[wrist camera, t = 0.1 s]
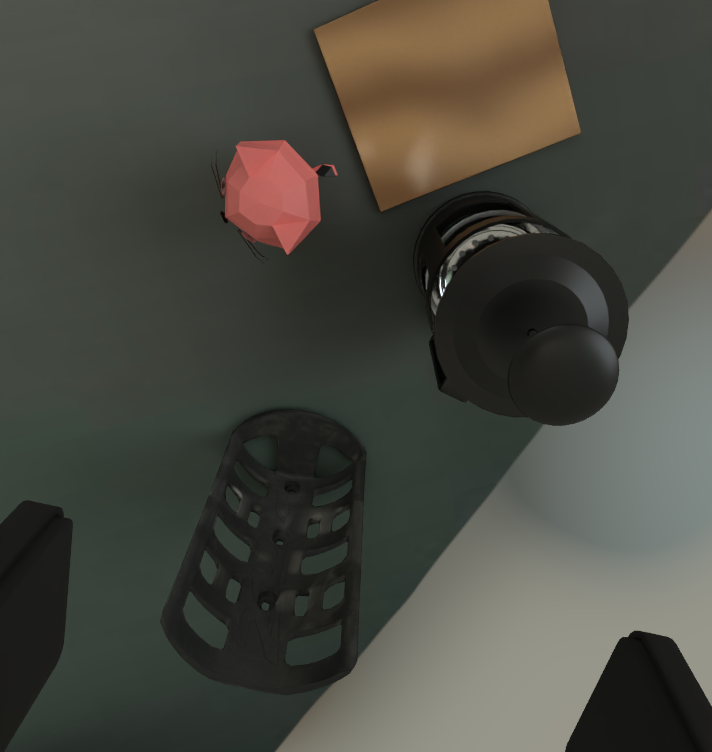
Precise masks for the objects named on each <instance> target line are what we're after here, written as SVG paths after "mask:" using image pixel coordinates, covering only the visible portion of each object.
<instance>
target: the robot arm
mask: <svg viewBox="0 0 712 752" xmlns="http://www.w3.org/2000/svg"><path fill="white" fill-rule="evenodd" d="M72 529H73V522H72V520H71V519H68V518H64V513H63V510H62V508H60V507H57V506H52V505H47V504H42V503H38V502H33V501H28V500H26V501H23V502H22V503H21V504H19V505H18V506H17V507H16V509H15V510H14V511H13V512H12V513H11V514H10V515H9V516H8V517H7V518H6V519H5V520H4V521H3V522H2V523H1V524H0V752H4V751H5V749H6V747H7V746H8V744H9V743H10V741H11V739H12V738H13V736H14V734H15V733H16V731H17V729H18V728H19V726H20V724H21V723H22V721H23V719H24V718H25V716H26V714H27V713H28V711H29V709H30V708H31V706H32V704H33V703H34V701H35V699H36V698H37V696H38V694H39V693H40V691H41V689H42V688H43V686H44V684H45V683H46V681H47V680H48V678H49V676H50V675H51V673H52V671H53V670H54V668H55V666H56V664H57V662H58V660H59V658H60V655H61V652H62V649H63V644H64V634H65V621H66V608H67V595H68V582H69V569H70V555H71V542H72ZM565 752H712V706H711V705H710V703H709V701H708V699H707V698H706V696H705V694H704V692H703V690H702V689H701V687H700V685H699V683H698V682H697V680H696V678H695V677H694V675H693V673H692V671H691V669H690V668H689V666H688V664H687V662H686V661H685V659H684V657H683V655H682V653H681V652H680V650H679V648H678V646H677V645H676V643H675V642H674V641H673V640H672V639H671V638H669V637H666V636H661V635H656V634H652V633H646V632H642V631H634V632H632V633H630V635H629V636H628V637H622V638H621V639H620V640H619V642H618V643H617V645H616V647H615V649H614V651H613V653H612V655H611V657H610V659H609V661H608V663H607V665H606V667H605V669H604V671H603V673H602V675H601V677H600V679H599V681H598V683H597V685H596V687H595V689H594V691H593V693H592V695H591V697H590V699H589V701H588V703H587V705H586V707H585V709H584V711H583V713H582V715H581V717H580V719H579V721H578V723H577V725H576V728H575V729H574V731H573V733H572V735H571V737H570V740H569V742H568V743H567V746H566V750H565Z"/></svg>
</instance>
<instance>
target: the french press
mask: <svg viewBox="0 0 712 752" xmlns="http://www.w3.org/2000/svg"><path fill="white" fill-rule="evenodd" d="M479 211H486V212H482V213H477V214H475V215H472V216H470V217H468V218H466V219H463V220H462V221H460V222H459V223H458V224H456V225H455V226H453V227H452V228H451V229H450V230H449V231H448V232H447V233H446V234H445V235H444V236H443V237H442V238H441V236H440V235H441V233H442V232H443V231H444V229H445V228H446V227H447V226H448V225H449V224H450V223H452V222H453V221H455V220H456V219H458V218H459V217H462V216H464V215H466V214H469V213H473V212H479ZM544 227H546V228H548V229H551V230H553V231H554V232H556V233H558V234H559V235H555V234H549V233H548V231H547V230H546V229H545V228H544ZM413 268H414V273H415V278H416V282H417V284H418V287H419V289H420V291H421V293H422V295H423V296H424V298H425V299H426V309H427V314H428V319H429V324H430V328H431V330H432V333H433V335H432V337H431V339H430V341H429V347H430V351H431V356H432V361H433V365H434V370H435V375H436V380H437V384H438V389H439V390H440V391H441V392H443V393H445V394H447V395H449V396H452V397H454V398H456V399H458V400H460V401H462V402H466V401H467V400H468V401H470V402H472V403H473V404H475V405H477V406H478V407H480V408H482V409H484V410H487V411H490V412H493V413H495V414H498V415H504V416H510V417H529V418H530V419H532V420H534V421H537V422H539V423H542V424H548V425H553V426H562V425H569V424H575V423H577V422H580V421H583V420H585V419H587V418H589V417H591V416H592V415H594V414H595V413H596V412H598V411H599V410H600V409H601V408H602V407H603V406H604V405H605V404H606V403H607V402H608V400H609V399H610V397H611V396H612V394H613V392H614V390H615V388H616V385H617V382H618V376H619V362H618V359H619V357H620V355H621V352H622V349H623V346H624V344H625V341H626V337H627V329H628V321H629V316H628V304H627V299H626V296H625V293H624V289H623V286H622V284H621V282H620V280H619V278H618V277H617V275H616V273H615V271H614V270H613V268H612V267H611V266H610V265H609V264H608V263H607V262H606V261H605V260H604V259H603V257H602V256H601V255H599V254H598V253H596V252H595V251H594V250H592V249H591V248H589V247H588V246H586V245H585V244H583V243H581V242H578V241H576V240H573V239H572V238H571V237H570V236H568V235H567V234H565V233H564V232H562V231H561V230H559V229H558V228H556V227H555V226H553V225H551V224H550V223H548V222H546V221H544V220H543V219H541V218H539V217H538V216H536V215H534V214H533V213H532V212H531V211H530V210H529V209H528V208H527V207H526V206H525V205H523V204H522V203H520V202H519V201H517V200H516V199H514V198H512V197H509V196H507V195H504V194H502V193H496V192H490V191H482V192H472V193H468V194H463V195H460V196H458V197H456V198H454V199H452V200H449V201H448V202H447V203H445V204H444V205H442V206H441V207H439V208H438V209H437V210H436V211H435V212H434V213H433V214H432V215H431V216H430V217H429V218H428V220H427V221H426V223H425V225H424V226H423V228H422V229H421V231H420V234H419V236H418V239H417V241H416V245H415V250H414V255H413ZM431 309H432V310H433V312H434V314H435V315H436V316H435V320H434V324H433V321H432V316H431Z"/></svg>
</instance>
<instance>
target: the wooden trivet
mask: <svg viewBox="0 0 712 752" xmlns="http://www.w3.org/2000/svg"><path fill="white" fill-rule="evenodd" d="M314 32H315V35H316V38H317V41H318V43H319V46H320V49H321V51H322V54H323V57H324V60H325V62H326V65H327V68H328V70H329V73H330V76H331V79H332V81H333V84H334V87H335V89H336V92H337V95H338V98H339V100H340V103H341V106H342V109H343V111H344V114H345V117H346V119H347V122H348V125H349V128H350V130H351V133H352V136H353V138H354V141H355V144H356V147H357V149H358V152H359V155H360V157H361V160H362V163H363V166H364V168H365V171H366V174H367V176H368V179H369V182H370V185H371V187H372V190H373V193H374V195H375V198H376V201H377V204H378V206H379V209H380V211H381V212H382V211H384V210H387V209H390V208H392V207H395V206H397V205H400V204H402V203H405V202H407V201H410V200H412V199H415V198H417V197H420V196H423V195H425V194H428V193H430V192H433V191H435V190H438V189H440V188H443V187H445V186H448V185H450V184H453V183H456V182H458V181H461V180H463V179H466V178H468V177H471V176H473V175H476V174H478V173H481V172H483V171H486V170H489V169H491V168H494V167H496V166H499V165H501V164H504V163H506V162H509V161H511V160H514V159H516V158H519V157H522V156H524V155H527V154H529V153H532V152H534V151H537V150H539V149H542V148H544V147H547V146H549V145H552V144H555V143H557V142H560V141H562V140H565V139H567V138H570V137H572V136H575V135H577V134H580V133H581V131H580V127H579V123H578V119H577V115H576V111H575V107H574V103H573V99H572V94H571V90H570V86H569V82H568V78H567V74H566V70H565V66H564V62H563V58H562V54H561V50H560V46H559V42H558V38H557V34H556V30H555V26H554V22H553V18H552V14H551V10H550V6H549V2H548V0H378V1H376V2H373V3H371V4H369V5H367V6H364V7H362V8H360V9H358V10H356V11H353V12H351V13H349V14H347V15H345V16H342V17H340V18H338V19H336V20H334V21H331V22H329V23H327V24H325V25H323V26H320V27H318V28H316V29H314Z"/></svg>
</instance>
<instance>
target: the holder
mask: <svg viewBox="0 0 712 752" xmlns="http://www.w3.org/2000/svg"><path fill="white" fill-rule="evenodd" d="M265 434H270V435H273V436H275V437H276V438H277V440H278V456H277V469H276V470H275V471H271V470H269V469H267V468H266V467H264V466H262V465H261V464H260V463H258V462H257V461H256V460H255V459H254V458H253V457H252V456H251V455H250V454H249V453H248V451H247V450H246V449H245V446H244V443H245V442H247V441H249V440H252V439H254V438H257V437H260V436H263V435H265ZM326 444H329V445H333V446H334V447H336V448H337V449H338V450H340V451H341V452H342V453H344V454H345V455H346V456H347V457H348V458H349V459H350V460H352V461H353V462H352V463H351V464H350V465H349V466H348V467H347V468H345V469H344V470H342V471H340V472H338V473H336V474H333V475H331V476H327V477H323V478H315V469H316V464H317V459H318V454H319V449H320V447H321V446H323V445H326ZM236 459H237V461H238V462H239V463H240V464H241V465H242V466H243V468H244V469H245V470H246V471H247V472H248V473H249V474H250V475H251V476H252V477H253V478H254V479H255V480H257V481H258V482H260V483H261V484H262V485H264V486H265V487H266V488H267V489H268V493H267V496H266V497H264V498H262V497H260V496H258V495H257V494H255V493H254V492H252V491H251V490H250V489H249V488H248V487H247V486H246V485H245V484H244V483H243V482H242V481H241V480H240V479H239V477H238V476H237V474H236V472H235V469H234V466H235V462H236ZM365 465H366V451H365V449H364V447H363V445H362V444H361V442H360V441H359V440H358V439H357V438H356V437H355V436H354V435H353V434H351V433H350V432H349V431H348V430H347V429H345V428H344V427H343V426H341V425H340V424H338V423H337V422H335V421H333V420H330V419H328V418H326V417H323V416H321V415H318V414H314V413H310V412H304V411H298V410H277V411H270V412H266V413H263V414H259V415H256V416H254V417H252V418H250V419H248V420H246V421H244V422H243V423H242V424H241V425H240V426H238V427H237V428H236V429H235V430H234V431H233V433H232V435H231V438H230V440H229V443H228V446H227V448H226V451H225V454H224V456H223V459H222V462H221V465H220V467H219V470H218V473H217V475H216V478H215V481H214V483H213V486H212V488H211V491H210V494H209V497H208V499H207V502H206V505H205V507H204V510H203V512H202V515H201V517H200V520H199V522H198V525H197V527H196V530H195V532H194V535H193V537H192V540H191V542H190V545H189V547H188V550H187V552H186V555H185V558H184V560H183V562H182V565H181V568H180V570H179V573H178V575H177V577H176V580H175V582H174V584H173V587H172V589H171V592H170V594H169V597H168V599H167V602H166V604H165V607H164V609H163V612H162V616H161V620H160V623H161V625H162V627H163V630H164V632H165V635H166V637H167V639H168V640H169V642H170V643H171V645H172V646H173V648H174V649H175V650H176V651H177V652H178V654H179V655H180V656H181V657H182V658H183V659H184V660H185V661H186V662H187V663H188V664H189V665H191V666H192V667H193V668H194V669H195V670H197V671H198V672H199V673H201V674H203V675H204V676H206V677H208V678H209V679H212V680H215V681H218V682H221V683H224V684H228V685H234V686H240V687H244V688H248V689H252V690H256V691H260V692H264V693H271V694H280V695H291V694H297V693H303V692H308V691H311V690H315V689H318V688H322V687H324V686H327V685H329V684H332V683H334V682H336V681H338V680H340V679H342V678H343V677H345V676H347V675H348V674H350V672H351V671H352V669H353V668H354V666H355V665H356V662H357V654H358V624H359V600H360V578H361V553H362V528H363V506H364V483H365ZM352 479H353V484H352V488H351V490H350V491H349V493H347V494H346V495H345V496H344V497H342V498H340V499H339V500H337V501H335V502H332V503H330V504H327V505H324V506H318V507H314V506H313V505H312V500H313V497H315V496H317V495H320V494H324V493H327V492H329V491H332V490H334V489H337V488H339V487H341V486H342V485H344V484H346V483H347V482H349V481H350V480H352ZM227 486H229V487H230V488H231V490H232V491H233V492H234V493H235V495H236V496H237V498H238V500H239V502H240V503H239V506H238V509H237V511H236V512H234V511H233V510H232V509H231V508H230V506H229V505H228V503H227V501H226V495H225V492H226V488H227ZM289 492H294V493H295V494H293V493H289ZM348 509H350V518H349V521H348V523H346V524H345V525H344V526H343V527H342V528H340V529H338V530H337V531H335V532H334V531H332V521H333V519H334V518H335V517H336V516H337V515H339V514H341V513H342V512H344V511H346V510H348ZM250 511H251V512H255V513H257V514H258V515H259V516H260V521H259V524H258V527H257V528H254V527H252V526H250V525H249V524H248V522H247V521H248V517H249V514H250ZM217 516H218V517H219V518H220V519H221V520H222V521H223V523H224V524H225V525H226V526H227V527H228V528H229V530H230V531H231V532H232V533H233V534H235V535H236V536H237V537H238V538H239V539H240V540H242V541H243V542H244V543H246V544H247V545H248V546H249V547H250V549H251V553H250V557H249V560H248V562H244V561H240V560H239V559H237V558H236V557H235V556H233V555H232V554H231V553H230V552H229V551H228V550H226V549H225V548H224V546H223V545H222V544H221V543H220V542H219V540H218V539H217V537H216V535H215V532H214V525H215V521H216V518H217ZM316 523H319V524H320V528H319V534H318V536H317V537H316V538H311V539H309V538H307V528H308V527H309V526H310V525H312V524H316ZM278 540H279V541H282V542H283V545H277V544H276V542H277V541H278ZM345 542H348V552H347V556H346V557H345V559H344V560H343V561H342V563H340V564H338V565H336V566H334V567H332V568H330V569H327V570H325V571H322V572H320V573H316V574H309V575H304V574H302V573H301V572H300V571H301V563H302V560H303V559H304V558H305V557H309V556H314V555H318V554H321V553H324V552H326V551H329V550H332V549H334V548H336V547H338V546H340V545H341V544H343V543H345ZM205 550H206V552H207V553H208V554H209V555H210V557H211V558H212V559H213V560H214V562H215V564H216V566H217V569H218V570H217V573H216V576H215V579H214V581H213V584H212V585H211V584H209V583H207V581H206V580H205V578H204V577H203V575H202V573H201V569H200V563H201V560H202V556H203V553H204V551H205ZM229 579H234V580H236V581H237V582H239V583H240V585H241V589H240V592H239V595H238V599H237V602H236V603H233V602H230V601H228V600H227V598H226V589H227V585H228V582H229ZM343 581H345V590H344V598H343V599H342V601H341V602H340V603H339V604H337V605H336V606H334V607H332V608H331V609H326V610H323V608H322V606H323V595H324V592H325V591H326V590H327V589H328V588H329V587H331V586H333V585H335V584H337V583H340V582H343ZM189 591H190V592H192V593H193V595H194V596H195V597H196V599H197V600H198V601H199V602H200V603H201V604H202V606H203V607H204V608H205V609H206V610H208V611H209V612H210V613H211V614H212V615H213V616H215V617H216V618H217V619H218V620H220V621H221V622H222V623H224V624H225V625H226V626H227V628H228V630H229V632H228V635H227V638H226V642H225V645H224V648H223V649H218V648H215V647H212V646H210V645H209V644H208V643H206V642H205V641H204V640H203V639H201V638H200V637H199V636H198V635H197V634H196V633H195V632H194V631H193V629H192V628H191V627H190V626H189V624H188V623H187V622H186V620H185V616H184V612H183V607H184V604H185V601H186V599H187V596H188V593H189ZM297 596H309V601H308V608H307V612H306V613H305V614H304V616H297V617H295V613H294V604H295V598H296V597H297ZM263 602H266V603H268V604H270V605H269V610H268V611H264V610H262V607H261V605H262V604H263ZM338 625H342V633H341V647H340V648H339V650H338V651H337V652H336V653H335V654H333V655H332V656H329V657H327V658H325V659H323V660H320V661H318V662H314V663H310V664H305V665H296V666H290V665H288V664H287V663H286V662H285V655H286V649H287V643H288V641H290V640H293V639H295V638H300V637H305V636H309V635H314V634H317V633H320V632H323V631H326V630H329V629H331V628H333V627H335V626H338Z"/></svg>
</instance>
